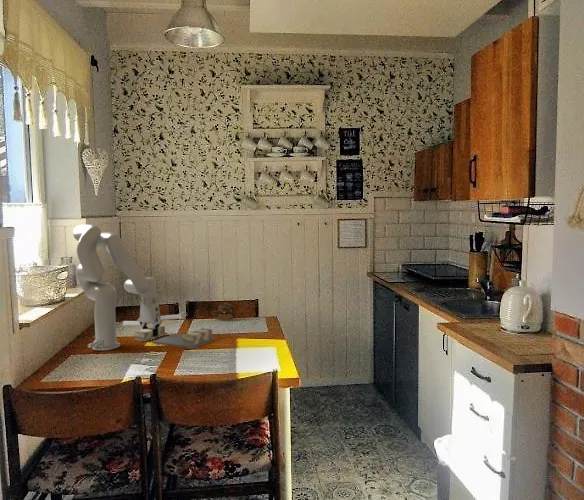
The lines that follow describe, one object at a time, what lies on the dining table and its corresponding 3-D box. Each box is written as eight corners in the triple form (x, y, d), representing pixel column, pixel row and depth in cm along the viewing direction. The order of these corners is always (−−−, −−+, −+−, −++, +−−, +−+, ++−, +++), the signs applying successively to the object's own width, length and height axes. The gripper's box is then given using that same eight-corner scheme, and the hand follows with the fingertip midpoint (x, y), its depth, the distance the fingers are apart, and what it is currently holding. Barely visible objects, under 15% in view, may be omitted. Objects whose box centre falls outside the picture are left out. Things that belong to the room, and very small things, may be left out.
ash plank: (146, 342, 249) (145, 333, 249) (135, 340, 252) (134, 332, 252) (166, 334, 264) (166, 326, 264) (156, 333, 267) (155, 325, 267)
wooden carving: (210, 320, 296) (209, 304, 295) (213, 319, 301) (212, 302, 300) (236, 321, 293) (236, 304, 292) (239, 320, 297) (238, 303, 296)
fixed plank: (192, 345, 237) (192, 336, 237) (182, 344, 240) (182, 335, 239) (212, 337, 251) (211, 329, 251) (202, 336, 254) (201, 328, 254)
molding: (184, 314, 318) (184, 310, 318) (194, 317, 309) (194, 312, 309) (119, 325, 290) (119, 320, 290) (128, 328, 281) (128, 323, 281)
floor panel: (193, 348, 236) (193, 346, 236) (152, 343, 246) (152, 341, 246) (214, 339, 252) (214, 337, 252) (175, 335, 263) (175, 333, 263)
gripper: (167, 300, 257) (168, 335, 258) (141, 298, 264) (142, 332, 265) (157, 303, 250) (158, 338, 251) (130, 301, 257) (132, 335, 259)
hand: (150, 334), depth 258 cm, fingers closed on ash plank, 6 cm apart
